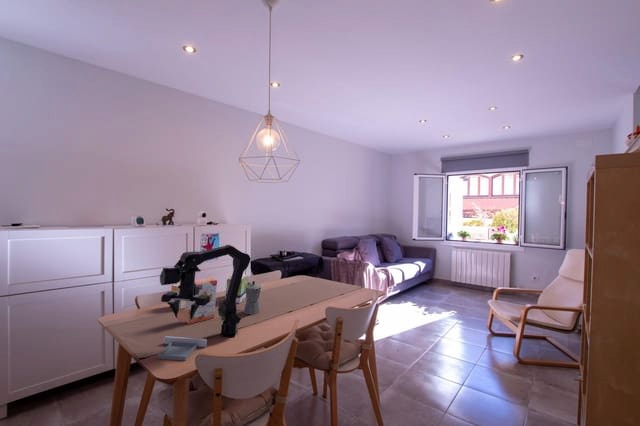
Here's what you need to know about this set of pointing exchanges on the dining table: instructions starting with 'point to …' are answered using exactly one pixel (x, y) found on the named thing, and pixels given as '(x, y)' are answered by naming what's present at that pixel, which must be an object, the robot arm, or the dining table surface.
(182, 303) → the supplement box
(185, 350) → the grey square tray
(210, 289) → the cracker box
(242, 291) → the tea box
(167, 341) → the wall
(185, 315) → the ball
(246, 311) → the coffeepot
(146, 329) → the dining table surface
